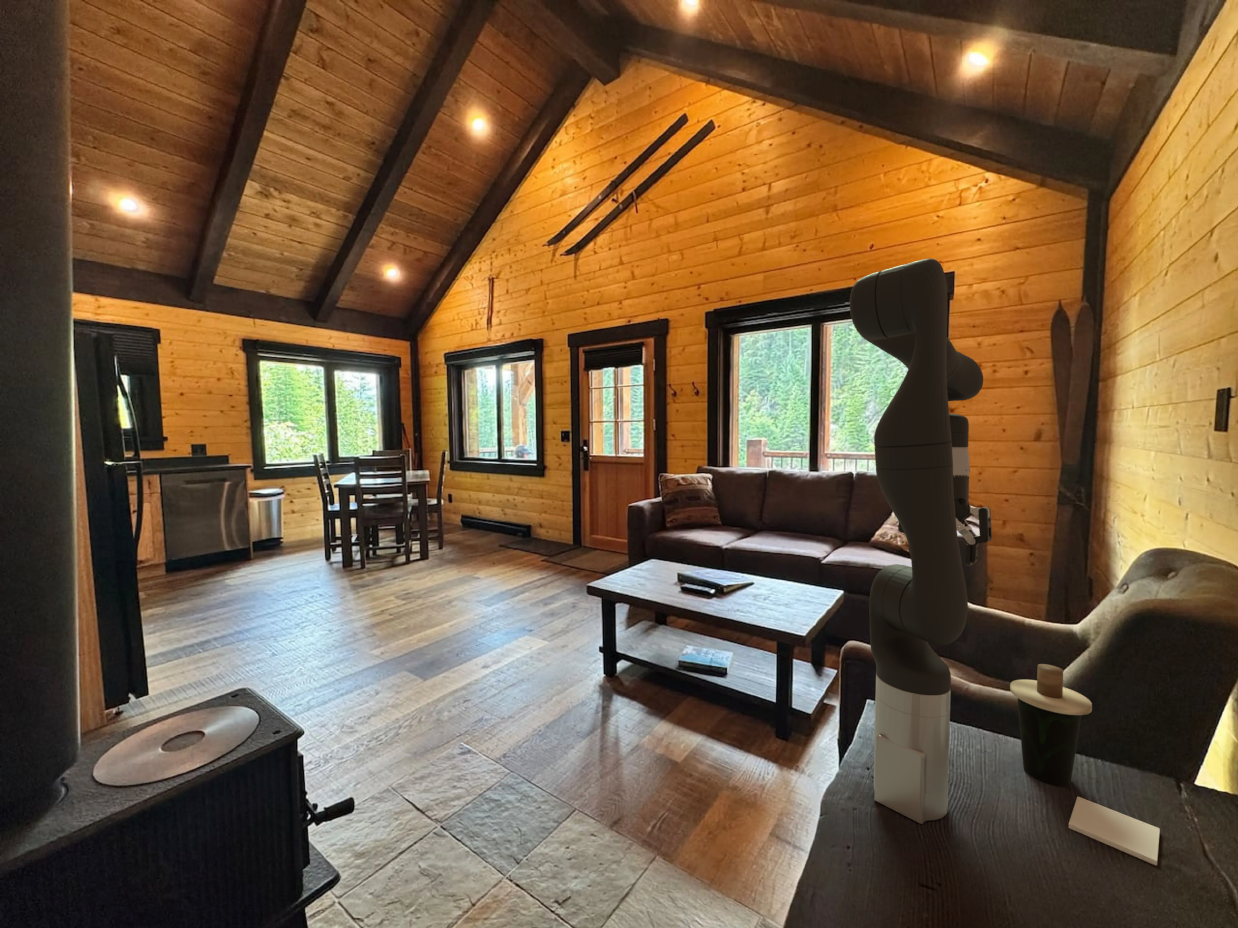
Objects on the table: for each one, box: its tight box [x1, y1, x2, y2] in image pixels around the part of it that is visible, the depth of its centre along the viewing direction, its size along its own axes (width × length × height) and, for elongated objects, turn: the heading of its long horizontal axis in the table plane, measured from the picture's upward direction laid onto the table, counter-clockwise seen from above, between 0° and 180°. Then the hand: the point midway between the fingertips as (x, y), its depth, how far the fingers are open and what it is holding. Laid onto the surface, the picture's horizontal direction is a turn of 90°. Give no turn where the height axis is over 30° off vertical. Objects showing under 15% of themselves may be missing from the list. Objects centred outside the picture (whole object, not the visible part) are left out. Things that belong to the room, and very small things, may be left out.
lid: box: [1009, 663, 1093, 716], centre depth 77 cm, size 10×10×5 cm
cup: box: [1017, 698, 1083, 788], centre depth 77 cm, size 8×8×12 cm
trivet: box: [1068, 796, 1161, 867], centre depth 66 cm, size 8×8×1 cm
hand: (941, 560), depth 91 cm, fingers open, 8 cm apart
